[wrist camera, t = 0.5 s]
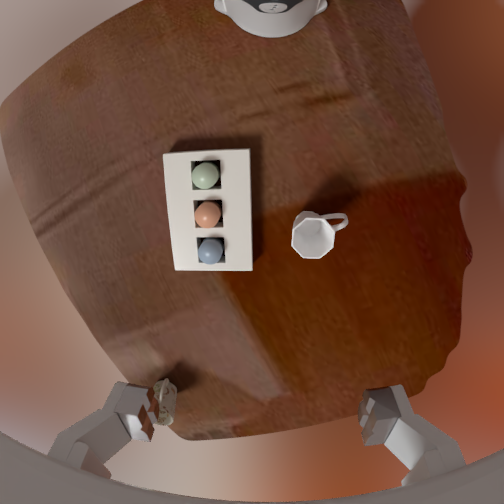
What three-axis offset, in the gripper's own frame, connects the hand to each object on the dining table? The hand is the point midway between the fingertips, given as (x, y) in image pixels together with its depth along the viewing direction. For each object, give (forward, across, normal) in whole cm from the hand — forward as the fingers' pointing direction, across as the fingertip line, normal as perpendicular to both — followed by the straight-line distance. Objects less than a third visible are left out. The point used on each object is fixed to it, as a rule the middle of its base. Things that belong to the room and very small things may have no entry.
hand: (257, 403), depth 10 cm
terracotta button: (+42, +9, +4) cm, 43 cm away
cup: (+44, -9, +6) cm, 45 cm away
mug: (+44, +26, +49) cm, 71 cm away
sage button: (+42, +9, -3) cm, 43 cm away
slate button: (+42, +10, +10) cm, 44 cm away
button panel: (+43, +9, +4) cm, 45 cm away
